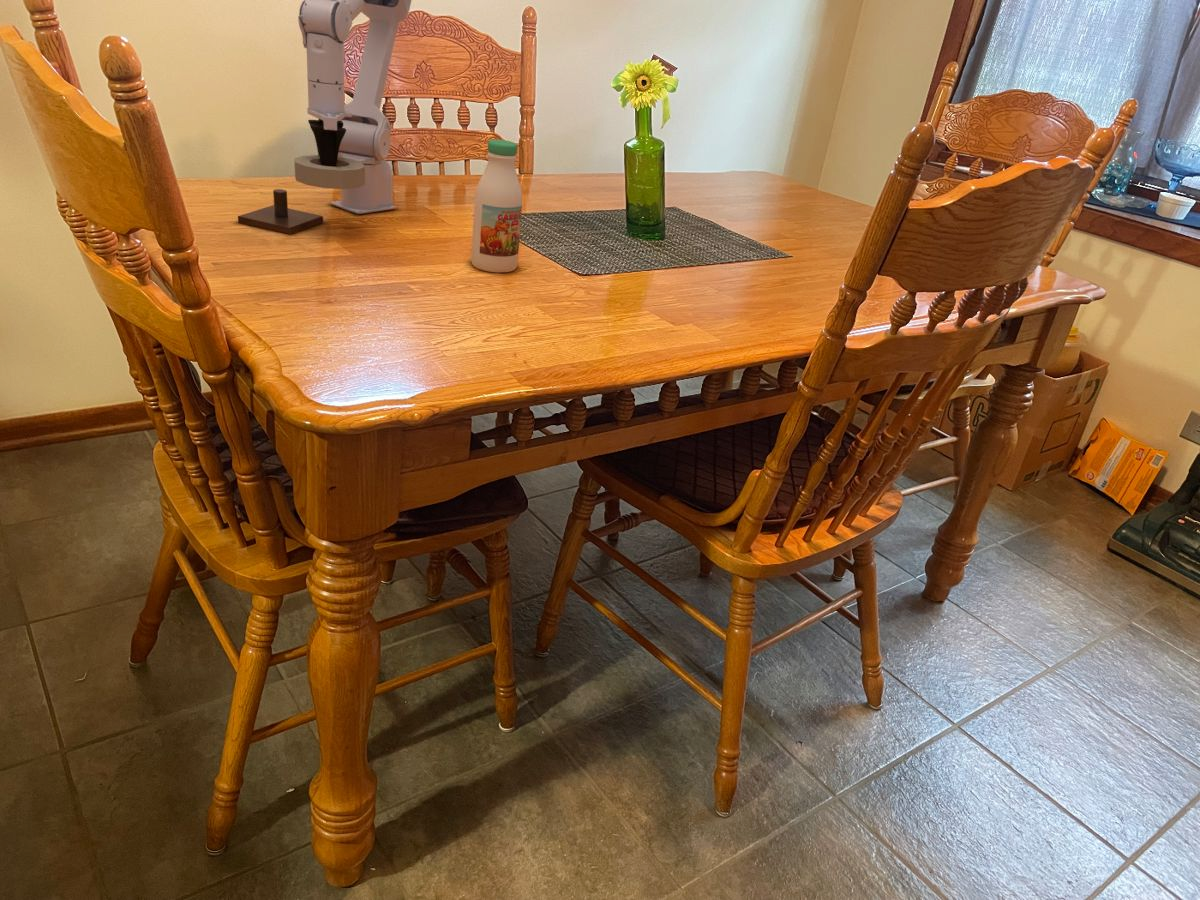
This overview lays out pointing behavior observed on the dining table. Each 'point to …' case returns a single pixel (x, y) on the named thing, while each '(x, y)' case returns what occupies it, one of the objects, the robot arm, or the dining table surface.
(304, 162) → the tape roll
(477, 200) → the milk bottle
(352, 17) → the robot arm
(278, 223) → the stand
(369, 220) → the dining table surface
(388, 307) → the dining table surface
